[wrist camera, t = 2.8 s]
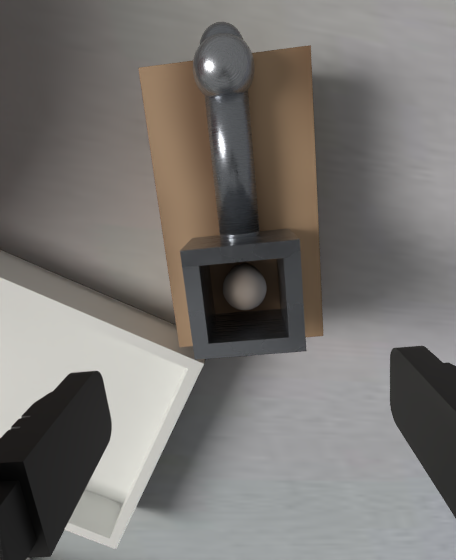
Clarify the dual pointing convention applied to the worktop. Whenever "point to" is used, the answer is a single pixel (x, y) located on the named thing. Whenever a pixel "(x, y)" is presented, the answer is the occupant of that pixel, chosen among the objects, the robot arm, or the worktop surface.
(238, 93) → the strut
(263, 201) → the stud block
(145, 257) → the worktop surface
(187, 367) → the bin
